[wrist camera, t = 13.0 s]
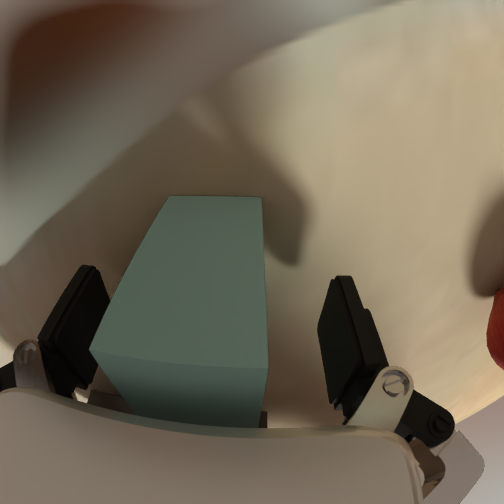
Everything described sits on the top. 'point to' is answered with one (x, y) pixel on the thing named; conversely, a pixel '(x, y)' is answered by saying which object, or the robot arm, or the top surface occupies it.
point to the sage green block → (192, 316)
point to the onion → (496, 329)
